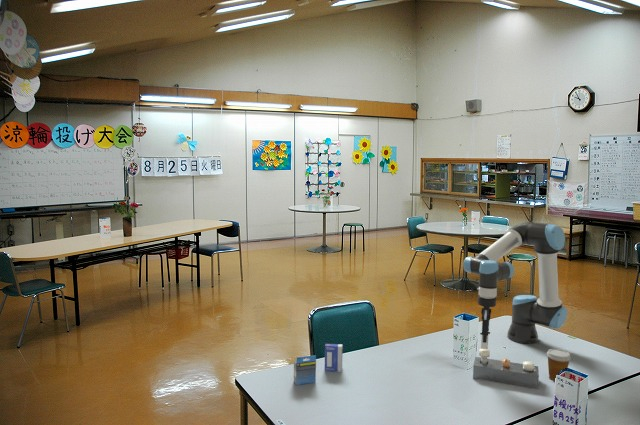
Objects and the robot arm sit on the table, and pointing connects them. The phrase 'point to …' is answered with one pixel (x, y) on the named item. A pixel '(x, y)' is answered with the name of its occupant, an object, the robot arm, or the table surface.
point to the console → (505, 373)
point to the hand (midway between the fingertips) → (484, 348)
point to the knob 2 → (528, 366)
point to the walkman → (333, 357)
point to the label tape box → (305, 370)
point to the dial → (505, 363)
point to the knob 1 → (484, 355)
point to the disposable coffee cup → (557, 361)
